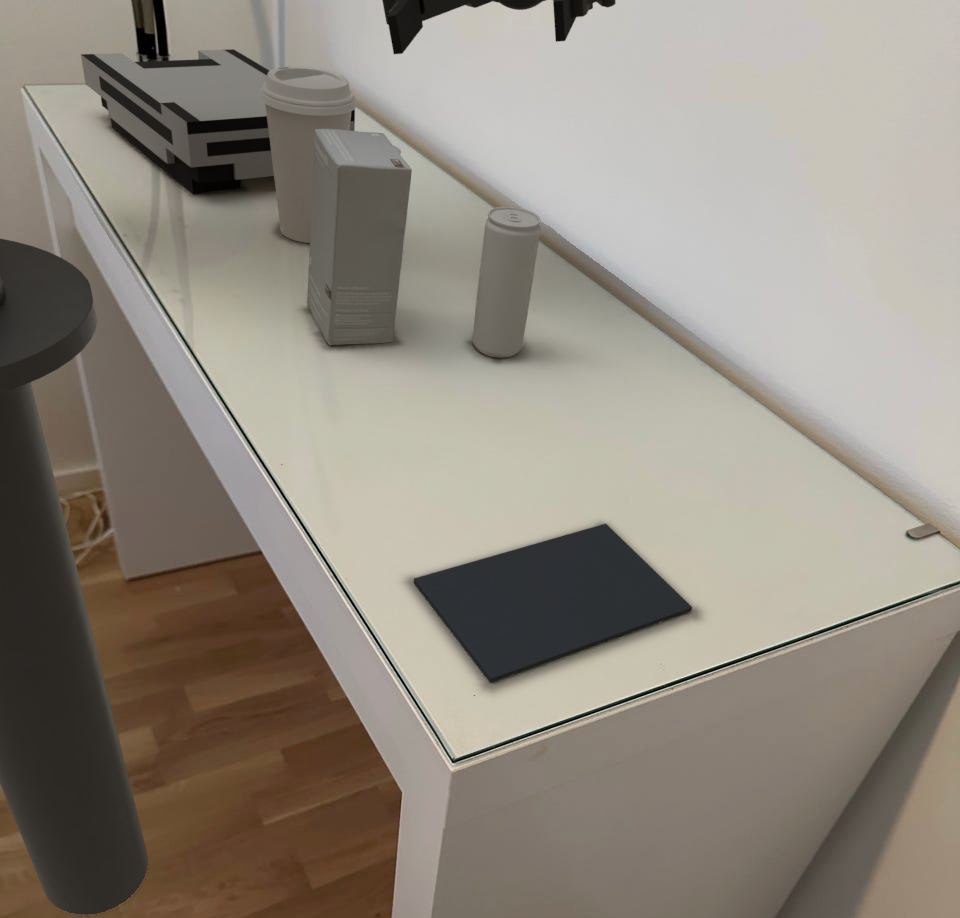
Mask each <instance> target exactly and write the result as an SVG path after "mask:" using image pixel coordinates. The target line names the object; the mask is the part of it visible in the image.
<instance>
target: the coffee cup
mask: <svg viewBox="0 0 960 918" xmlns="http://www.w3.org/2000/svg"><path fill="white" fill-rule="evenodd" d="M350 87H351V86H350V83H349V79H348V78H347V77H346V76H344V75H343V74H340V73H338V72H335V71H332V70H329V69H324V68H319V67H312V66H295V65H294V66H293V65H292V66H291V65H289V66H280V67H275V68H271V69H269V72H268V74H267V79H266V82H265V83H264V84H263V86H262V89H261V93H260V99H261V101H262V102H263V103H265V107H266V114H267V122H268V130H269V138H270V146H271V155H272V163H273V171H274V176H273V180H274V187H275V195H276V204H277V213H278V220H279V222H278V223H279V229H280V233H281V234H282V236H284V237H286V238H287V239H289V240H292V241H295V242H299V243H304V244H310V231H311V211H312V189H313V167H314V144H315V130H316V129H337V130H348V131H350V121H351V111H353V110H356V108H357V102H356V97H355V95H354V92H353V91H352V89H351V88H350Z"/></svg>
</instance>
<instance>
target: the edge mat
mask: <svg viewBox="0 0 960 918" xmlns="http://www.w3.org/2000/svg"><path fill="white" fill-rule="evenodd" d="M413 584H414V586H415V587H416V588H417V589H418V591H419V593H421V595H422V596H423V597H424V598H425V600H426V601H427V603H428V604H429V605H430V606H431V607H432V609H433V610H434V611H435V613H436V614H437V615H438V617H439V618H440V619H441V620H442V622H443V624H444V625H445V626H446V627H447V628H448V630H449V631H450V632H451V634H452V635H453V637H454V638H455V639H456V640H457V642H458V643H459V644H460V646H461V647H462V648H463V649H464V651H465V652H466V653H467V654H468V656H469V657H470V658H471V660H472V661H473V662H474V663H475V665H476V666H477V667H478V668H479V670H480V671H481V673H482V674H483V675H484V676H485V678H486V680H487V681H488V682H489V683H490V684H491V683H494V682H496V681H500V680H502V679H505V678H508V677H511V676H514V675H516V674H520V673H522V672H526V671H528V670H530V669H534V668H536V667H539V666H542V665H544V664H547V663H550V662H553V661H556V660H558V659H561V658H565V657H567V656H570V655H573V654H576V653H578V652H580V651H584V650H587V649H590V648H593V647H595V646H598V645H601V644H603V643H606V642H609V641H612V640H614V639H615V640H616V639H617V638H621V637H623V636H626V635H628V634H632V633H635V632H636V631H637V632H638V631H639V630H642V629H645V628H648V627H651V626H654V625H657V624H659V623H662V622H665V621H668V620H670V619H674V618H676V617H678V616H681V615H685V614H688V613H690V612H692V609H693V606H692V605H691V604H690V603H689V602H687V600H686V599H685V598H684V597H682V596H681V594H680V593H678V592H677V591H676V590H675V588H673V587H672V585H670V583H668V582H667V581H666V580H665V579H664V578H663V577H662V576H661V575H660V574H659V573H658V572H656V570H654V568H652V566H651V565H650V564H648V562H646V561H645V560H644V558H642V557H641V556H640V554H638V553H637V552H636V551H635V550H634V549H633V548H632V547H631V546H630V545H629V544H628V543H627V542H626V541H625V540H624V539H623V538H622V537H621V536H619V534H617V533H616V532H615V531H614V530H613V529H612V528H611V527H610V526H609V525H608V524H607V523H603V524H598V525H596V526H592V527H588V528H585V529H582V530H578V531H575V532H571V533H567V534H565V535H559V536H558V537H554V538H551V539H547V540H543V541H540V542H537V543H533V544H529V545H525V546H522V547H520V548H516V549H512V550H508V551H505V552H502V553H498V554H494V555H490V556H487V557H483V558H480V559H477V560H474V561H471V562H466V563H462V564H460V565H456V566H452V567H450V568H446V569H442V570H439V571H435V572H432V573H429V574H425V575H420V576H418V577H414V578H413Z"/></svg>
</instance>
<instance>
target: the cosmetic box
mask: <svg viewBox="0 0 960 918" xmlns="http://www.w3.org/2000/svg"><path fill="white" fill-rule="evenodd" d="M401 154H402V150H401V149H400V148H399V147H397V146H395V145H393V144H392V142H391V141H390V139H389V138H388V136H387V135H386V134H385V133H384V132H374V131H373V132H372V131H360V130H359V131H358V130H355V131H348V130H337V129H316V130H315V144H314V167H313V189H312V211H311V231H310V243H309V253H308V255H309V256H308V273H307V274H308V279H307V295H306V297H307V298H306V304H307V308H308V309H309V311H310V314H311V316H312V318H313V321H314V322H315V324H316V326H317V327H318V329H319V332H320V333H321V335H322V337H323V338H324V340H325V341H326V343H328V345H329V346H339V345H358V344H359V345H361V344H367V345H368V344H385V343H393V342H394V333H395V325H396V315H397V305H398V297H399V288H400V279H401V270H402V260H403V253H404V242H405V233H406V226H407V218H408V207H409V199H410V192H411V181H412V174H413V169H412V167H411V166H410V165H409V164H408V163H407V161H406V160H405V159H404V158H403V157H402V155H401Z"/></svg>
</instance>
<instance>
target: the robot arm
mask: <svg viewBox="0 0 960 918" xmlns="http://www.w3.org/2000/svg"><path fill="white" fill-rule="evenodd" d="M546 1H547V0H382V5H383V11H384V17H385V23H386V25H388V31H389V36H390V41H391V47H392V52H393V53H392V54H393V55H401V54H404V52H405V51H406V50H407V48H408V47H409V46H410V45H411V43H412V42H413V41H414V39H415V38H416V37H417V35H418V34H419V33H420V31H422V29H423V27H424V25H423V22H425V21H427V20H429V19H432V18H436V17H437V16H440V15H443V14H445V13H448V12H450V11H451V12H452V11H453V10H457V9H458V8H461V7H465V6H466V7H470V8H473V9H476V8H479V7H482V6H484V5H487V4H490V3H492V2H494V3H499V4H500V5H502V6H503V7H506V8H507V9H512V10H516V11H525V10H529V9H533V8H535V7H536V6H538V5H539V4H541V3H543V2H546ZM552 3H553V19H554V36H555V43H558V42H566V41H567V38H568V36H569V34H570V31H571V29H572V27H573V25H574V23H575V21H576V19H577V18H582V17H583V18H584V17H585V16H586V15H587V14H588V13H589V11H590V10H593V9H594V3H597V4H598V5H599V6H601V7H602V8H603V7H604V8H610V7H614V6H615V5H616V0H552ZM5 296H6V295H5V289H4V285H3V281H2V277H1V275H0V307H1V306H2V305H3V303H4V300H5Z"/></svg>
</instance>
